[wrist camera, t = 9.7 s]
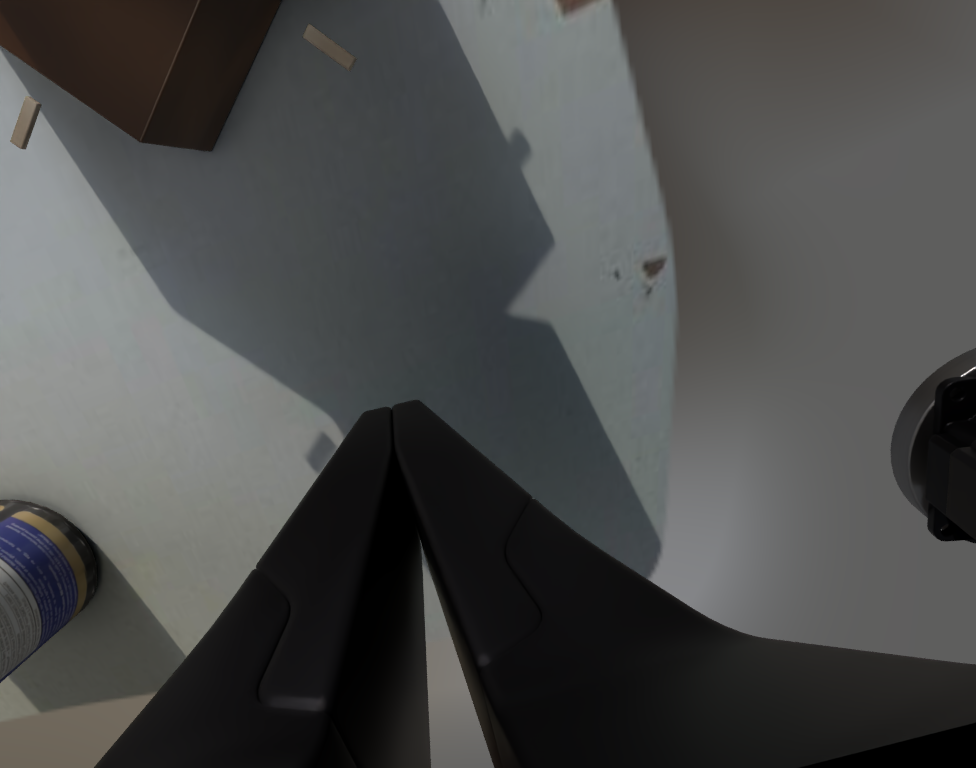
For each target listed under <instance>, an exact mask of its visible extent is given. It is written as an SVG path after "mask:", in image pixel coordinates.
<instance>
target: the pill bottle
mask: <svg viewBox="0 0 976 768" xmlns="http://www.w3.org/2000/svg"><path fill="white" fill-rule="evenodd" d="M96 570H97V566H96V561H95V559H94V555H93V552H92V551H91V548H90V546H89V545H88V543H87V541H86V540H85V539H84V537H83V536H82V534H81V532H80V531H78V530H77V528H76V527H75V526H74V525H73V524H72V523H70V522H69V521H68V520H67V519H66V518H64V517H63V516H62V515H61V514H58V513H57V512H55V511H53V510H50V509H49V508H47V507H44V506H41V505H37V504H34V503H31V502H25V501H19V500H0V683H1V682H2V681H3V680H4V679H5V678H6V677H7V676H9V675H10V674H11V673H12V672H13V671H14V670H15V669H16V668H18V667H19V666H20V665H21V664H22V663H23V662H24V661H25V660H27V659H28V658H29V657H30V656H31V655H32V654H33V653H34V652H36V651H37V650H38V649H39V648H40V647H41V646H42V645H43V644H45V643H46V642H47V641H48V640H49V639H50V638H51V637H52V636H54V635H55V634H56V633H57V632H58V631H59V630H60V629H61V628H63V627H64V626H65V625H66V624H67V623H68V622H69V621H70V620H72V619H73V618H74V617H75V616H76V615H77V614H78V613H79V612H81V611H82V610H83V609H84V608H85V607H86V606H87V604H88V603H89V601H90V600H91V598H92V597H93V595H94V592H95V590H96V587H97V572H96Z"/></svg>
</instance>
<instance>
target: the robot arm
mask: <svg viewBox="0 0 976 768" xmlns="http://www.w3.org/2000/svg"><path fill="white" fill-rule="evenodd" d="M955 388H958V392H957V394H956V395H955V396H953V397H950V393H951V391H952V390H953V389H955ZM925 498H926V500H927V501H928V502H929V503H928V520H927V521H928V522H927V527H928V530H929V532H930V533H931V534H932V535H933V536H935V537H936V538H937V539H938V540H941V541H960V540H974V539H975V540H976V375H969V376H960V377H951V378H948V379H945V380H943V381H942V382H940V383H939V385H938V386H937V387H936V391H935V403H934V419H933V436H932V437H931V438H930V440H929V442H928V459H927V476H926V494H925ZM947 524H949V525H948V527H947V528H946V529H944V530H941V528H942V527H943V526H944V525H947ZM420 540H421V543H422V547H423V550H424V554H425V557H426V561H427V564H428V567H429V570H430V573H431V576H432V579H433V582H434V585H435V588H436V591H437V594H438V597H439V600H440V603H441V606H442V609H443V612H444V615H445V619H446V622H447V625H448V628H449V631H450V634H451V637H452V640H453V643H454V646H455V649H456V652H457V655H458V658H459V661H460V664H461V667H462V670H463V673H464V676H465V679H466V683H467V686H468V689H469V692H470V695H471V698H472V701H473V704H474V707H475V710H476V713H477V716H478V719H479V722H480V725H481V728H482V731H483V734H484V737H485V740H486V743H487V747H488V749H489V752H490V756H491V758H492V762H493V765H494V768H976V665H975V664H963V663H956V662H948V661H940V660H932V659H923V658H916V657H908V656H900V655H893V654H885V653H877V652H869V651H860V650H854V649H846V648H838V647H830V646H822V645H814V644H806V643H799V642H791V641H783V640H775V639H766V638H761V637H756V636H752V635H748V634H745V633H742V632H739V631H737V630H734V629H732V628H728V627H726V626H724V625H722V624H720V623H718V622H716V621H714V620H712V619H710V618H708V617H706V616H705V615H703V614H701V613H700V612H698V611H696V610H694V609H693V608H691V607H690V606H688V605H687V604H685V603H683V602H682V601H680V600H679V599H677V598H676V597H674V596H672V595H671V594H669V593H668V592H666V591H665V590H663V589H661V588H660V587H658V586H657V585H655V584H654V583H652V582H651V581H649V580H648V579H646V578H644V577H643V576H641V575H640V574H638V573H637V572H635V571H633V570H632V569H630V568H629V567H627V566H626V565H624V564H623V563H621V562H619V561H618V560H616V559H615V558H613V557H612V556H610V555H609V554H607V553H606V552H604V551H603V550H601V549H600V548H598V547H597V546H595V545H594V544H592V543H591V542H589V541H588V540H586V539H585V538H584V537H582V536H581V535H579V534H578V533H576V532H575V531H574V530H573V529H571V528H570V527H569V526H567V525H566V524H565V523H564V522H562V521H561V520H560V519H559V518H557V517H556V516H555V515H553V514H552V513H551V512H550V511H549V510H548V509H546V508H545V507H544V506H543V505H542V504H541V503H539V502H538V501H537V500H536V499H533V498H532V496H531V495H530V494H529V493H527V492H526V491H525V490H524V489H523V488H522V487H520V486H519V485H518V484H517V483H516V482H515V481H513V480H512V479H511V478H510V477H509V476H508V475H506V474H505V473H504V472H503V471H502V470H500V469H499V468H498V467H497V466H496V465H495V464H493V463H492V462H491V461H490V460H489V459H488V458H486V457H485V456H484V455H483V454H482V453H481V452H479V451H478V450H477V449H476V448H475V447H474V446H472V445H471V444H470V443H469V442H468V441H467V440H465V439H464V438H463V437H462V436H461V435H459V434H458V433H457V432H456V431H455V430H454V429H452V428H451V427H450V426H449V425H448V424H447V423H445V422H444V421H443V420H442V419H441V418H440V417H438V416H437V415H436V414H435V413H434V412H433V411H431V410H430V409H429V408H428V407H427V406H425V405H424V404H423V403H422V402H421V401H419V400H412V401H408V402H404V403H400V404H396V405H394V406H393V408H392V409H391V408H390V407H382V408H378V409H374V410H369V411H366V412H364V413H363V414H362V415H361V416H360V418H359V419H358V420H357V422H356V423H355V425H354V426H353V428H352V429H351V430H350V432H349V433H348V435H347V436H346V438H345V439H344V440H343V442H342V443H341V445H340V446H339V448H338V449H337V450H336V452H335V453H334V455H333V456H332V458H331V459H330V460H329V462H328V463H327V465H326V466H325V468H324V469H323V470H322V472H321V473H320V475H319V476H318V478H317V479H316V480H315V482H314V483H313V485H312V486H311V488H310V489H309V490H308V492H307V493H306V495H305V496H304V498H303V499H302V500H301V502H300V503H299V505H298V506H297V508H296V509H295V510H294V512H293V513H292V515H291V516H290V518H289V519H288V520H287V522H286V523H285V525H284V526H283V528H282V529H281V530H280V532H279V533H278V535H277V536H276V538H275V539H274V540H273V542H272V543H271V545H270V546H269V548H268V549H267V550H266V552H265V553H264V555H263V556H262V558H261V559H260V560H259V562H258V563H257V565H256V569H254V570H252V572H251V573H250V574H249V576H248V577H247V579H246V580H245V582H244V583H243V584H242V586H241V587H240V589H239V590H238V591H237V593H236V594H235V596H234V597H233V598H232V600H231V601H230V602H229V604H228V605H227V606H226V608H225V609H224V610H223V612H222V613H221V615H220V616H219V617H218V619H217V620H216V621H215V623H214V624H213V625H212V627H211V628H210V629H209V630H208V632H207V633H206V634H205V635H204V637H203V638H202V639H201V640H200V642H199V643H198V644H197V645H196V647H195V648H194V649H193V650H192V651H191V653H190V654H189V655H188V656H187V658H186V659H185V660H184V661H183V663H182V664H181V665H180V666H179V667H178V669H177V670H176V671H175V672H174V673H173V675H172V676H171V677H170V678H169V679H168V681H167V682H166V683H165V684H164V685H163V686H162V688H161V689H160V690H159V691H158V692H157V694H156V695H155V696H154V697H153V698H152V699H151V701H150V702H149V703H148V704H147V705H146V707H145V708H144V709H143V710H142V711H141V712H140V714H139V715H138V716H137V717H136V718H135V720H134V721H133V722H132V723H131V724H130V726H129V727H128V728H127V729H126V730H125V731H124V733H123V734H122V735H121V736H120V737H119V739H118V740H117V741H116V742H115V743H114V745H113V746H112V747H111V748H110V749H109V750H108V752H107V753H106V754H105V755H104V756H103V757H102V759H101V760H100V761H99V762H98V763H97V765H96V766H95V767H94V768H431V759H430V737H429V712H428V690H427V665H426V641H425V617H424V594H423V570H422V553H421V543H420Z"/></svg>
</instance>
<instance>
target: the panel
mask: <svg viewBox="0 0 976 768" xmlns="http://www.w3.org/2000/svg"><path fill="white" fill-rule="evenodd" d="M280 2H281V0H0V46H2V47H3V48H5V49H6V50H8V51H9V52H10V53H12V54H13V55H15V56H16V57H18V58H19V59H21V60H22V61H23V62H25V63H26V64H28V65H29V66H31V67H32V68H34V69H35V70H36V71H38V72H39V73H41V74H42V75H44V76H45V77H47V78H48V79H49V80H51V81H52V82H54V83H55V84H57V85H58V86H60V87H61V88H62V89H64V90H65V91H67V92H68V93H70V94H71V95H73V96H74V97H75V98H77V99H78V100H80V101H81V102H83V103H84V104H85V105H87V106H88V107H90V108H91V109H93V110H94V111H96V112H97V113H98V114H100V115H101V116H103V117H104V118H106V119H107V120H109V121H110V122H111V123H113V124H114V125H116V126H117V127H119V128H120V129H122V130H123V131H124V132H126V133H127V134H129V135H130V136H132V137H133V138H135V139H136V140H137V141H139V142H141V143H148V144H155V145H163V146H171V147H178V148H186V149H194V150H201V151H209V152H210V151H212V148H213V146H214V144H215V142H216V140H217V138H218V136H219V133H220V131H221V129H222V127H223V125H224V123H225V121H226V118H227V116H228V114H229V112H230V110H231V108H232V106H233V103H234V101H235V99H236V97H237V95H238V93H239V91H240V88H241V86H242V84H243V82H244V80H245V78H246V75H247V73H248V71H249V69H250V67H251V65H252V63H253V60H254V58H255V56H256V54H257V52H258V50H259V48H260V45H261V43H262V41H263V39H264V37H265V35H266V33H267V30H268V28H269V26H270V24H271V22H272V20H273V18H274V15H275V13H276V11H277V9H278V7H279V5H280ZM302 37H303V38H304V39H306V40H307V41H308V42H310V43H311V44H313V45H314V46H315V47H317V48H318V49H319V50H321V51H322V52H323V53H325V54H326V55H328V56H329V57H330V58H332V59H333V60H334V61H336V62H337V63H339V64H340V65H341V66H343V67H344V68H345V69H347V70H348V71H351V70H352V68H353V66H354V64H355V62H356V60H357V58H356V57H354V56H353V55H351V54H350V53H349V52H347V51H346V50H345V49H343V48H342V47H341V46H339V45H338V44H336V43H335V42H334V41H332V40H331V39H330V38H328V37H327V36H326V35H324V34H323V33H322V32H320V31H319V30H317V29H316V28H315V27H313V26H312V25H311V24H308V26H307V28H306V30H305V32H304V34H303V36H302ZM40 108H41V104H40V103H39V102H37V101H36V100H34V99H33V98H31V97H28V96H26V97H25V100H24V102H23V105H22V108H21V111H20V114H19V117H18V120H17V123H16V126H15V129H14V132H13V135H12V138H11V140H10V142H12V143H13V144H15V145H16V146H17V147H19V148H20V149H26V147H27V144H28V142H29V139H30V136H31V133H32V130H33V127H34V125H35V122H36V119H37V116H38V113H39V110H40Z"/></svg>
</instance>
